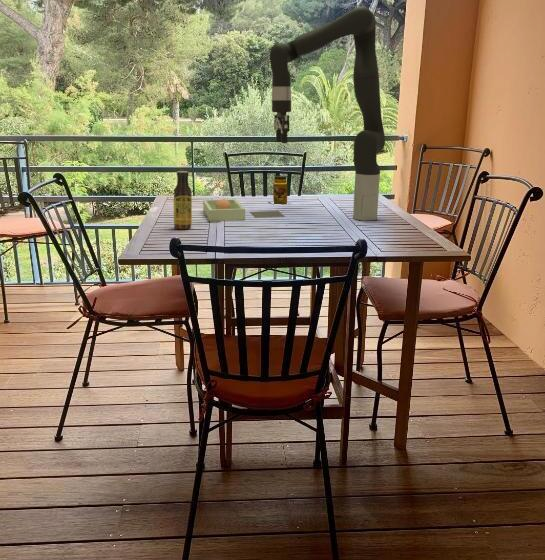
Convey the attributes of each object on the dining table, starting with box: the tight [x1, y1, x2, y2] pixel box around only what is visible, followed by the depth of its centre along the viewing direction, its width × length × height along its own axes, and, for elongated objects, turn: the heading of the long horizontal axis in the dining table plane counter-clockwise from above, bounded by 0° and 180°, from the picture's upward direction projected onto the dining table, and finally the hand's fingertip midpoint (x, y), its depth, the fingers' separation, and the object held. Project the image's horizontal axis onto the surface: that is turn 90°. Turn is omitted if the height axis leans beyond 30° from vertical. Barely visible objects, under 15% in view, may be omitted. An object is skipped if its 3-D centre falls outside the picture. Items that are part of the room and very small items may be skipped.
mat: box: [249, 210, 286, 219], centre depth 228 cm, size 12×12×1 cm
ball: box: [216, 198, 231, 209], centre depth 225 cm, size 6×6×6 cm
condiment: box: [272, 175, 291, 205], centre depth 252 cm, size 7×8×12 cm
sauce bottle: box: [173, 170, 193, 230], centre depth 202 cm, size 6×6×20 cm
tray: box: [202, 198, 246, 223], centre depth 225 cm, size 22×13×4 cm, turn 13°
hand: (281, 142), depth 227 cm, fingers open, 8 cm apart
